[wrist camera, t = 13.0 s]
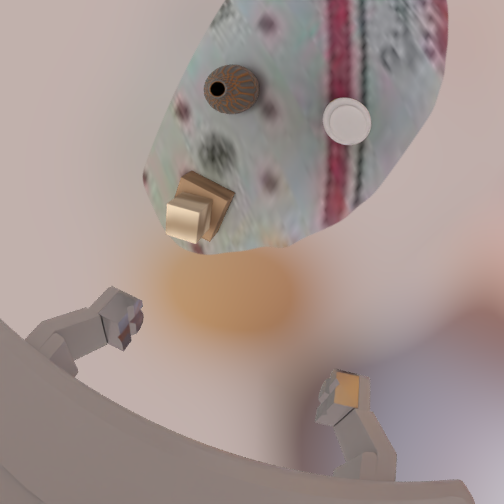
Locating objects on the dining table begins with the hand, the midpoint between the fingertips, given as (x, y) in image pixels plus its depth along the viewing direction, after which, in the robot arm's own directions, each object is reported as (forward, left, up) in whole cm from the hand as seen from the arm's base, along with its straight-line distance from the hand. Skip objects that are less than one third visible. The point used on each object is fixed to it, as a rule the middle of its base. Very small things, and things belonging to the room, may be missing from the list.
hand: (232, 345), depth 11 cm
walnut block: (+12, -14, -34) cm, 39 cm away
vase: (-7, -12, -34) cm, 37 cm away
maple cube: (+12, -14, -30) cm, 36 cm away
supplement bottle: (-7, +3, -34) cm, 35 cm away
